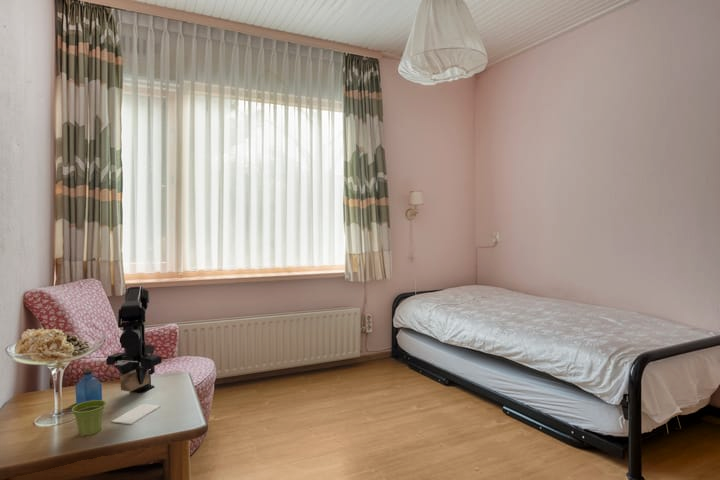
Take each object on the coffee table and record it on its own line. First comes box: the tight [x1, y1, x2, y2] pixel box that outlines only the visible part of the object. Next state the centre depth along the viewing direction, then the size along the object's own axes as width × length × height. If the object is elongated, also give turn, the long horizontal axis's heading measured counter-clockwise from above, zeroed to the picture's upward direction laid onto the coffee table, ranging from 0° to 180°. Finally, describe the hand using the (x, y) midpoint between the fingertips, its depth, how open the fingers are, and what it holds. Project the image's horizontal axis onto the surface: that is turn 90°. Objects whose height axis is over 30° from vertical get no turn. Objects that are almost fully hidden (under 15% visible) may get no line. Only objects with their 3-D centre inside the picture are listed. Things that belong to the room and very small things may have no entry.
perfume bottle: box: [75, 368, 103, 405], centre depth 167 cm, size 6×6×12 cm
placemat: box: [111, 403, 161, 426], centre depth 155 cm, size 14×8×1 cm, turn 165°
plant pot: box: [71, 399, 107, 436], centre depth 143 cm, size 9×9×9 cm
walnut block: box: [119, 369, 150, 393], centre depth 154 cm, size 4×8×5 cm, turn 159°
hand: (135, 383), depth 154 cm, fingers closed on walnut block, 5 cm apart
